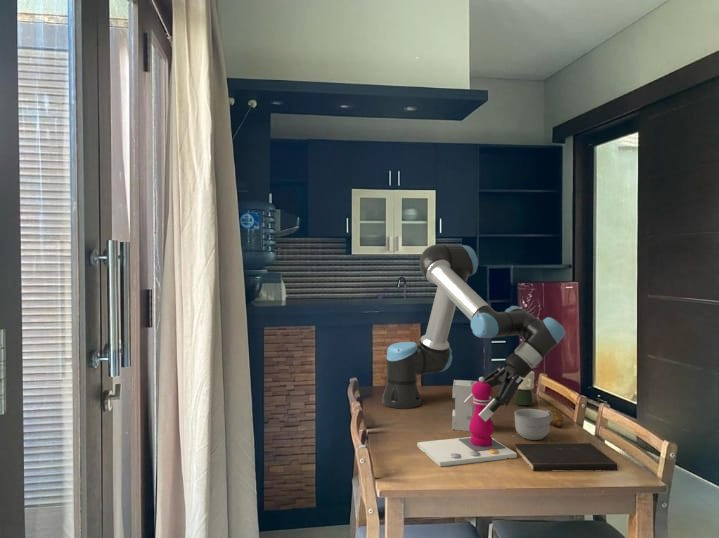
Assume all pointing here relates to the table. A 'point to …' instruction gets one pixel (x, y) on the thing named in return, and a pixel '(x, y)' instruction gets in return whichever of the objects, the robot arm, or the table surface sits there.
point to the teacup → (532, 423)
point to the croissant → (556, 418)
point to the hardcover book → (565, 457)
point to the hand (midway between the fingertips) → (474, 411)
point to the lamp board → (464, 451)
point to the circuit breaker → (462, 405)
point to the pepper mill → (477, 424)
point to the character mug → (525, 390)
